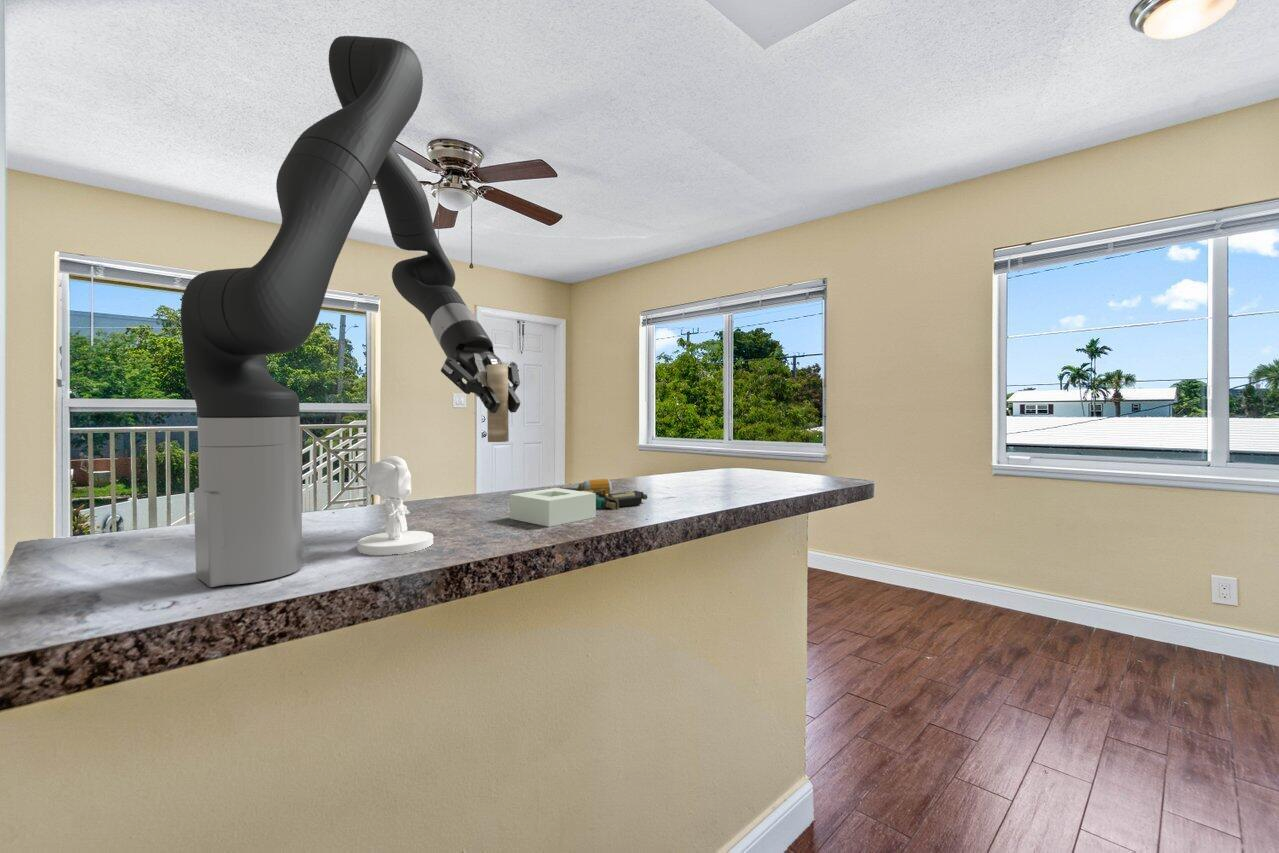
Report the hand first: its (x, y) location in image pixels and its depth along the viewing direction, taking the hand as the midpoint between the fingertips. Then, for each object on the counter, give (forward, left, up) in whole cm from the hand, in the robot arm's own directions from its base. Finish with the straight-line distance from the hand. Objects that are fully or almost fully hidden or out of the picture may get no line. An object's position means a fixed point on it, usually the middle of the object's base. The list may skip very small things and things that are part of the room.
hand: (506, 408), depth 87 cm
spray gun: (+24, +4, -19) cm, 31 cm away
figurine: (-18, 0, -18) cm, 26 cm away
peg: (0, +2, -5) cm, 6 cm away
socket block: (+8, -1, -18) cm, 20 cm away
